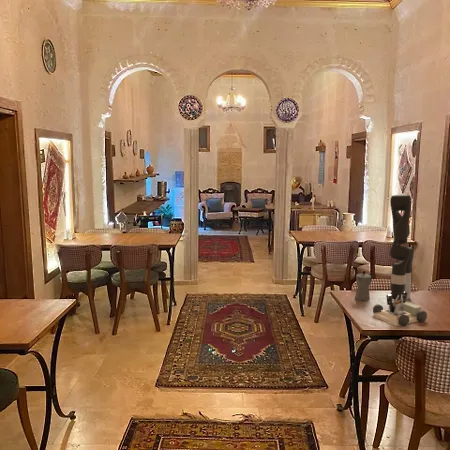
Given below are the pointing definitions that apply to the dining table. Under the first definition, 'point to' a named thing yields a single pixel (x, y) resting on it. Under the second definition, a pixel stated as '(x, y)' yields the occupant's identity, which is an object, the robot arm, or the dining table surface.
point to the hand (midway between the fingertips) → (395, 311)
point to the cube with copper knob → (397, 308)
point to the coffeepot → (363, 286)
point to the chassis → (409, 314)
